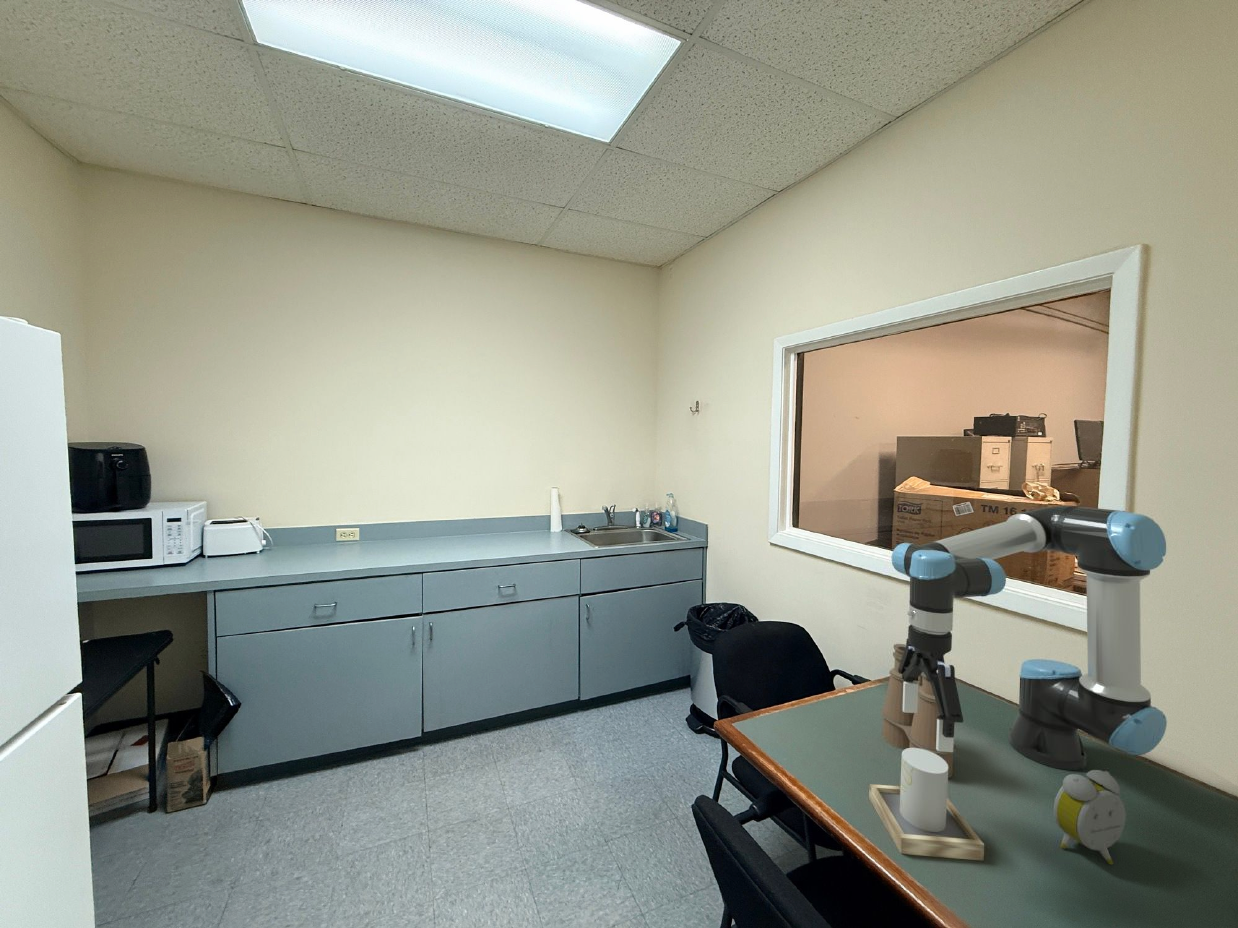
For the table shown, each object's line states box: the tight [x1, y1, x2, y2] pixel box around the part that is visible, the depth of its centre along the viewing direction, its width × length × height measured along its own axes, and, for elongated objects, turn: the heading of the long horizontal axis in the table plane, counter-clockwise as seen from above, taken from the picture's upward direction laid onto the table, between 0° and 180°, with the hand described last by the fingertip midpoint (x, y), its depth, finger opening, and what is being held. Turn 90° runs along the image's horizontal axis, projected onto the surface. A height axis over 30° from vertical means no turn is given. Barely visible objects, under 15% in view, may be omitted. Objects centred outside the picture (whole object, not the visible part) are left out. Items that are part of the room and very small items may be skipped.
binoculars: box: [880, 643, 956, 779], centre depth 127 cm, size 21×10×25 cm, turn 6°
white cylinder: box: [900, 748, 949, 832], centre depth 102 cm, size 8×8×12 cm
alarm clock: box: [1053, 769, 1127, 865], centre depth 97 cm, size 12×7×15 cm, turn 103°
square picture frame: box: [868, 783, 985, 862], centre depth 103 cm, size 15×15×3 cm
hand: (926, 729), depth 102 cm, fingers open, 13 cm apart
